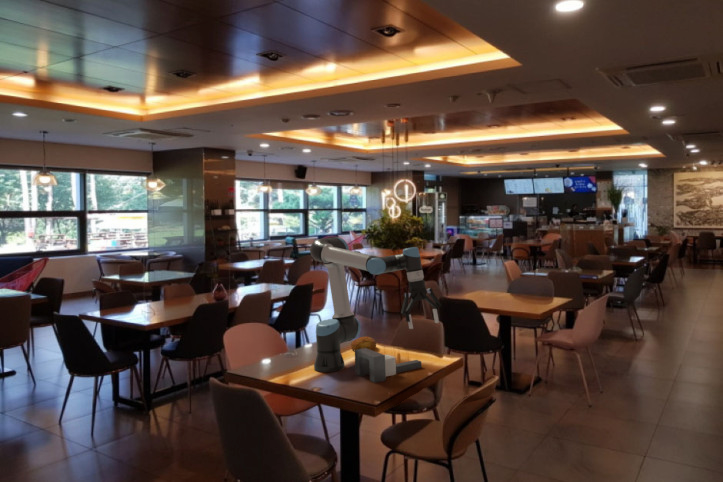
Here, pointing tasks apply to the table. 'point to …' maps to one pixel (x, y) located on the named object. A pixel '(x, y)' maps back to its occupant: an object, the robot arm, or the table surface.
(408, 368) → the plug
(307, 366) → the table surface
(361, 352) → the cable tunnel
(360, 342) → the golden lumpy mound
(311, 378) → the table surface
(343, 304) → the robot arm
